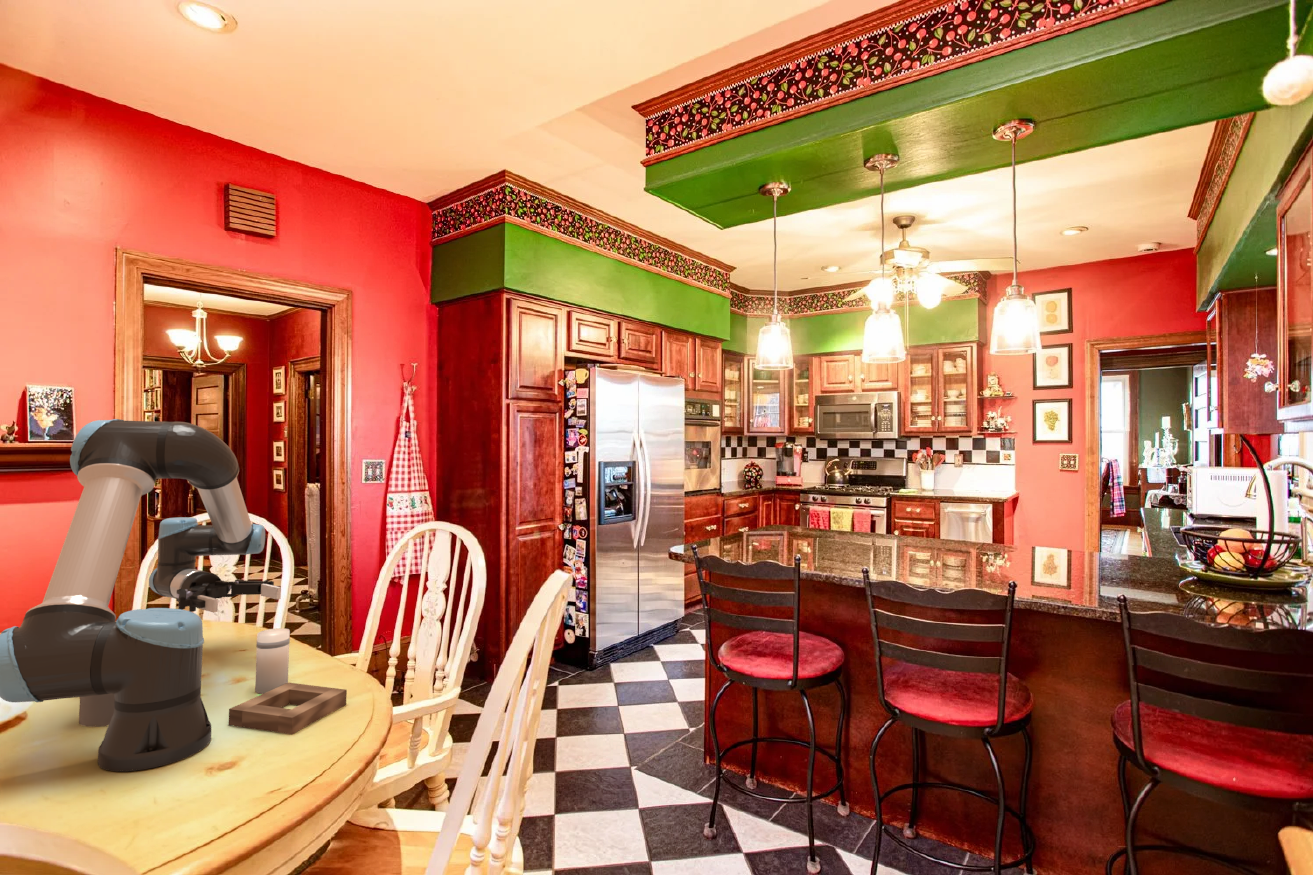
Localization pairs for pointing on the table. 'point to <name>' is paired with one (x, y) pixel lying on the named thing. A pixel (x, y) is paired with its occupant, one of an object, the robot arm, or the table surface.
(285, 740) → the table surface
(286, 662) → the white cylinder
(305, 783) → the table surface
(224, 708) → the table surface
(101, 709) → the coffee mug
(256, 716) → the cradle
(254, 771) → the table surface
